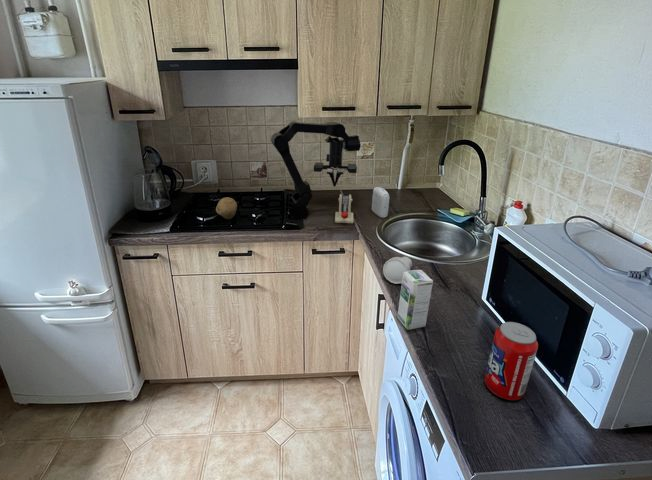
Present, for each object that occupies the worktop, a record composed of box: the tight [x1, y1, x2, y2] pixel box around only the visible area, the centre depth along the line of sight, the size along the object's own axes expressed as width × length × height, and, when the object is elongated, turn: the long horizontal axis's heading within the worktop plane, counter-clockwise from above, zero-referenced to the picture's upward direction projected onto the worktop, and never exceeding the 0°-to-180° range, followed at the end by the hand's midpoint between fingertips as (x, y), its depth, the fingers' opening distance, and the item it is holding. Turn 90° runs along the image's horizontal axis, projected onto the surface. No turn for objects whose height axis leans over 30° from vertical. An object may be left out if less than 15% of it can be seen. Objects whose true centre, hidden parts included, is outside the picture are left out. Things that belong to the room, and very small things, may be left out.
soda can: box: [484, 321, 539, 401], centre depth 80 cm, size 8×8×15 cm
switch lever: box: [341, 195, 349, 219], centre depth 163 cm, size 12×3×3 cm, turn 174°
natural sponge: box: [215, 196, 238, 220], centre depth 165 cm, size 9×9×10 cm
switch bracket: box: [334, 193, 354, 224], centre depth 167 cm, size 10×8×11 cm
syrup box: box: [396, 269, 434, 331], centre depth 100 cm, size 6×6×14 cm
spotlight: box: [382, 256, 413, 285], centre depth 123 cm, size 8×11×8 cm
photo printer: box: [371, 186, 390, 219], centre depth 173 cm, size 10×4×12 cm, turn 17°
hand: (334, 186), depth 170 cm, fingers closed
